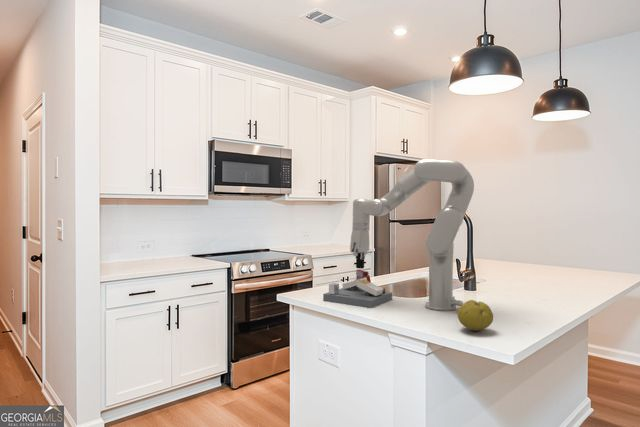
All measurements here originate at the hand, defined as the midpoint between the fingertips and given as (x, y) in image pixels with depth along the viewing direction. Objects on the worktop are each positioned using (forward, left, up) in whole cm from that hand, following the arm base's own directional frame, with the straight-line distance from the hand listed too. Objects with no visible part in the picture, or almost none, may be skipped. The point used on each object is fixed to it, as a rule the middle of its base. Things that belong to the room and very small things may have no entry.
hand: (360, 268), depth 187 cm
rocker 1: (+6, -6, -9) cm, 13 cm away
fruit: (-54, +19, -15) cm, 59 cm away
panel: (+1, 0, -14) cm, 14 cm away
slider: (+9, +7, -11) cm, 16 cm away
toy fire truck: (+8, -18, -15) cm, 25 cm away
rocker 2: (-5, 0, -9) cm, 10 cm away
